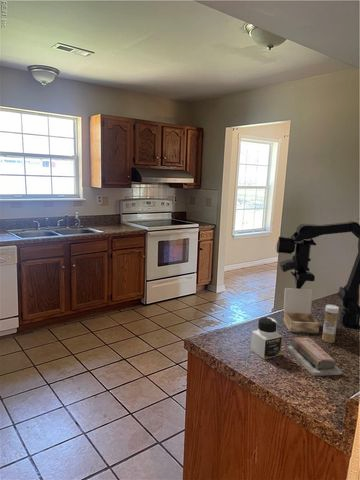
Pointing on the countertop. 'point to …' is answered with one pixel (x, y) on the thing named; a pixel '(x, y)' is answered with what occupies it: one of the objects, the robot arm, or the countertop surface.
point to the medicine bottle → (266, 339)
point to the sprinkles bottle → (330, 323)
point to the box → (301, 322)
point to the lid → (297, 300)
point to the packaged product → (313, 357)
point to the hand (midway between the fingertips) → (297, 290)
